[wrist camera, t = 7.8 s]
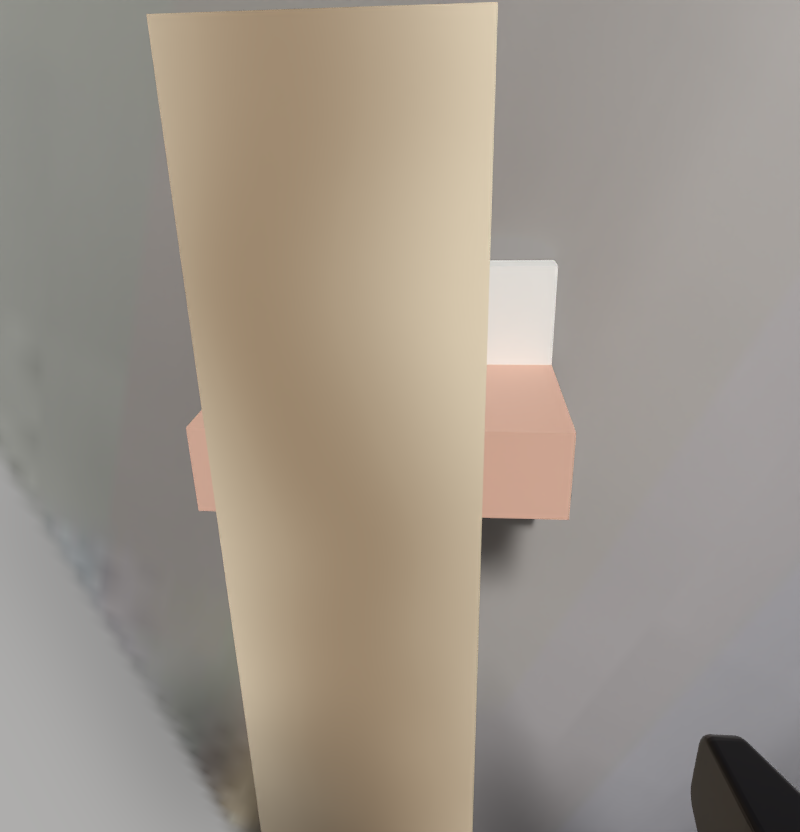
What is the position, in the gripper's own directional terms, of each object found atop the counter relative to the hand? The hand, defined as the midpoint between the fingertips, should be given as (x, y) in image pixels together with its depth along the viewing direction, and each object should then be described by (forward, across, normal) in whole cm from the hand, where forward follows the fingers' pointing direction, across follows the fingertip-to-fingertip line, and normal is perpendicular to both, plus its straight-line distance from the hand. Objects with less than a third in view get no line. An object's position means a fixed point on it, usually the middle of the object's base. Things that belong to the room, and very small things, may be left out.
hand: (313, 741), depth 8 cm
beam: (+7, 0, 0) cm, 7 cm away
